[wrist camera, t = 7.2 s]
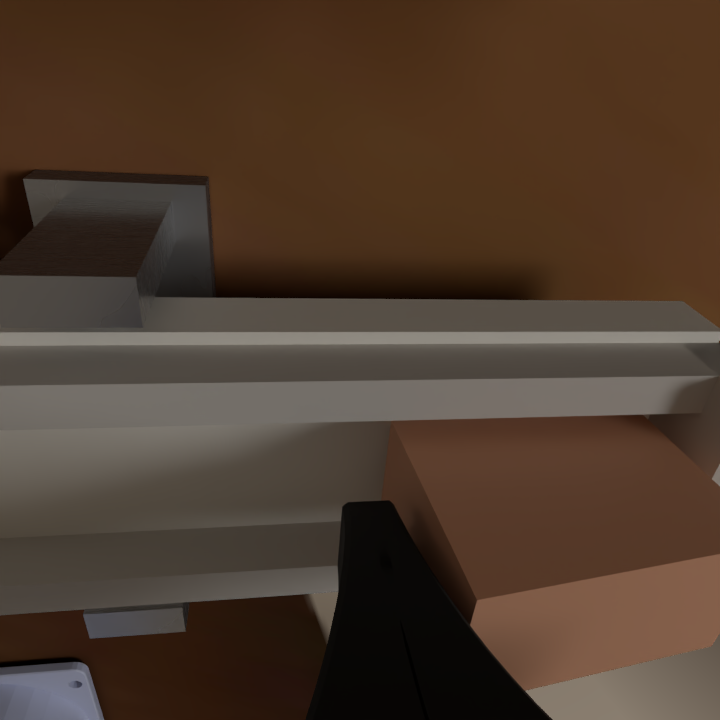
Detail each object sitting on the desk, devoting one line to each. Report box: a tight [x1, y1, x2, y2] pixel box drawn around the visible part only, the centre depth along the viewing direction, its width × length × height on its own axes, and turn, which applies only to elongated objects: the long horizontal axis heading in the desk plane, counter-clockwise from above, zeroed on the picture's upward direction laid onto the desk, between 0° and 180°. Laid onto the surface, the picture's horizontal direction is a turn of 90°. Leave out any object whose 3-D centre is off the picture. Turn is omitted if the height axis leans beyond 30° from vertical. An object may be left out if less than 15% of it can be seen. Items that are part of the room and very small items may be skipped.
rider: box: [381, 415, 720, 691], centre depth 13 cm, size 6×3×5 cm, turn 86°
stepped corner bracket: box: [0, 170, 216, 638], centre depth 14 cm, size 31×11×5 cm, turn 86°
